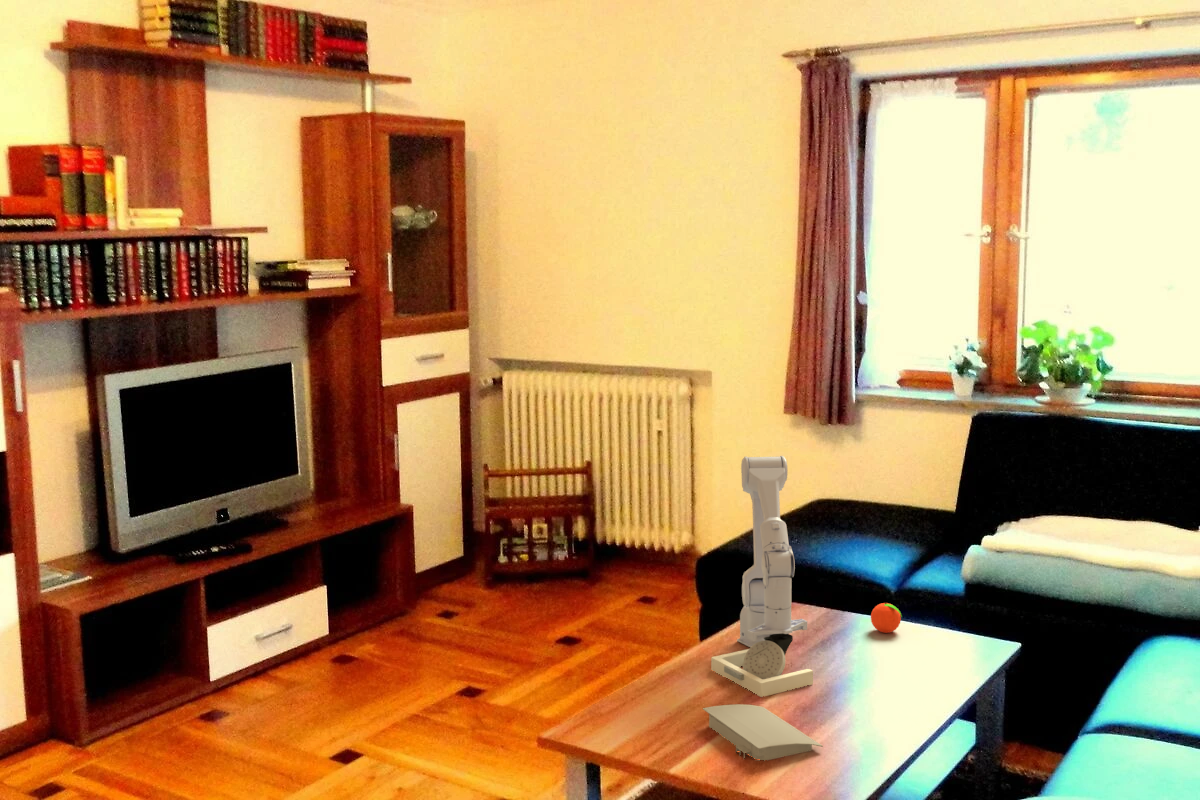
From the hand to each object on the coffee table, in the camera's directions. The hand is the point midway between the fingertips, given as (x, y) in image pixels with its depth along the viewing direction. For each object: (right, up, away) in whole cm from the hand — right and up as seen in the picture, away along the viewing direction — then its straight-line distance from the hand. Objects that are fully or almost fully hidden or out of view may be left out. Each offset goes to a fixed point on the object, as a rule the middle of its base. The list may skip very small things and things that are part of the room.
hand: (777, 666), depth 264 cm
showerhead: (0, -1, -1) cm, 2 cm away
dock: (-4, -2, -2) cm, 4 cm away
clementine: (+30, +2, +26) cm, 39 cm away
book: (-9, -7, -33) cm, 35 cm away
